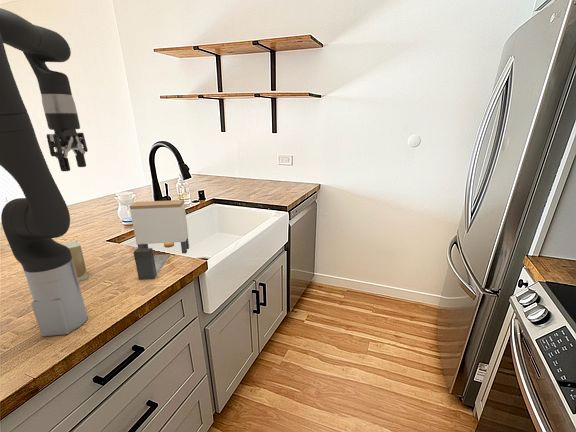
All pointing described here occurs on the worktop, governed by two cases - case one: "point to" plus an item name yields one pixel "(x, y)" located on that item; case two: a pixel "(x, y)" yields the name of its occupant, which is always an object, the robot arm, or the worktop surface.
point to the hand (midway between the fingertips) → (74, 168)
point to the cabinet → (160, 223)
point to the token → (168, 245)
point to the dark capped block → (148, 263)
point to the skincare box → (77, 259)
